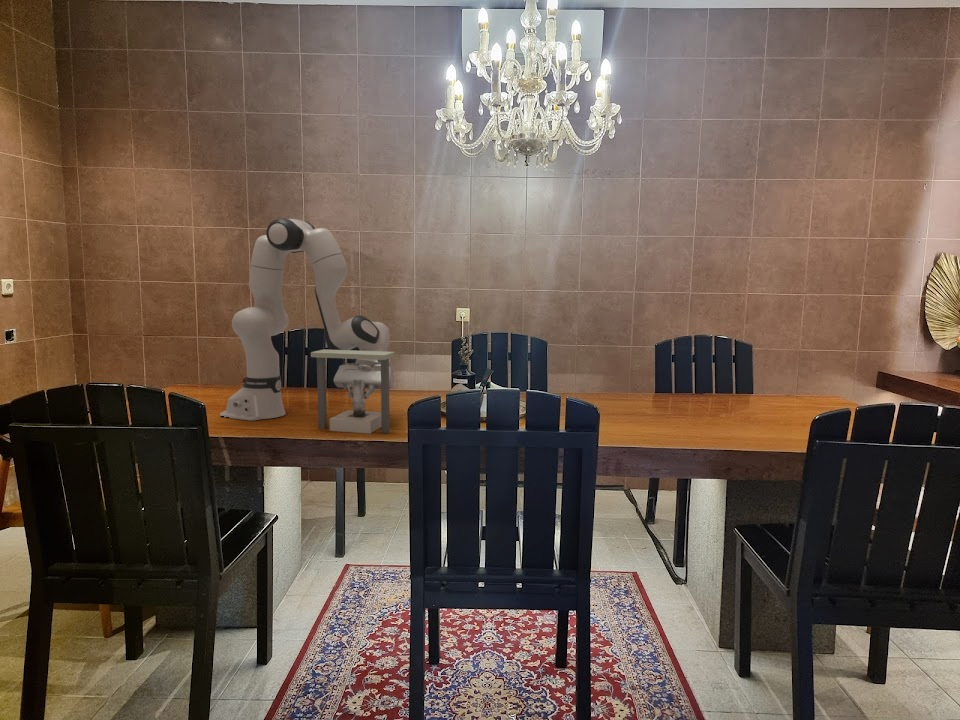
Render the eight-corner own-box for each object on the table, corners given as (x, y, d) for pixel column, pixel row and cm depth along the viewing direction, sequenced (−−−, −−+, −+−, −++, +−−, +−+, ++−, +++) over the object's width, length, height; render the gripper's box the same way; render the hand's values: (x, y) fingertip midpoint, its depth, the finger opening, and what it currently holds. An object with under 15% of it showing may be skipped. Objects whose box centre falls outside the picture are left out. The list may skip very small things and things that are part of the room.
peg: (351, 417, 211) (350, 380, 209) (356, 414, 215) (355, 379, 213) (362, 417, 210) (361, 381, 209) (367, 415, 214) (366, 379, 212)
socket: (329, 430, 208) (329, 418, 207) (348, 421, 221) (347, 409, 221) (370, 433, 205) (370, 421, 204) (386, 423, 218) (386, 412, 218)
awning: (312, 430, 208) (310, 352, 205) (325, 424, 217) (323, 349, 213) (385, 435, 203) (384, 355, 199) (395, 428, 211) (394, 351, 208)
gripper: (337, 357, 219) (325, 390, 211) (394, 359, 215) (384, 393, 206) (343, 368, 224) (332, 401, 216) (399, 370, 219) (389, 404, 211)
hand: (357, 397), depth 211 cm, fingers closed on peg, 4 cm apart
